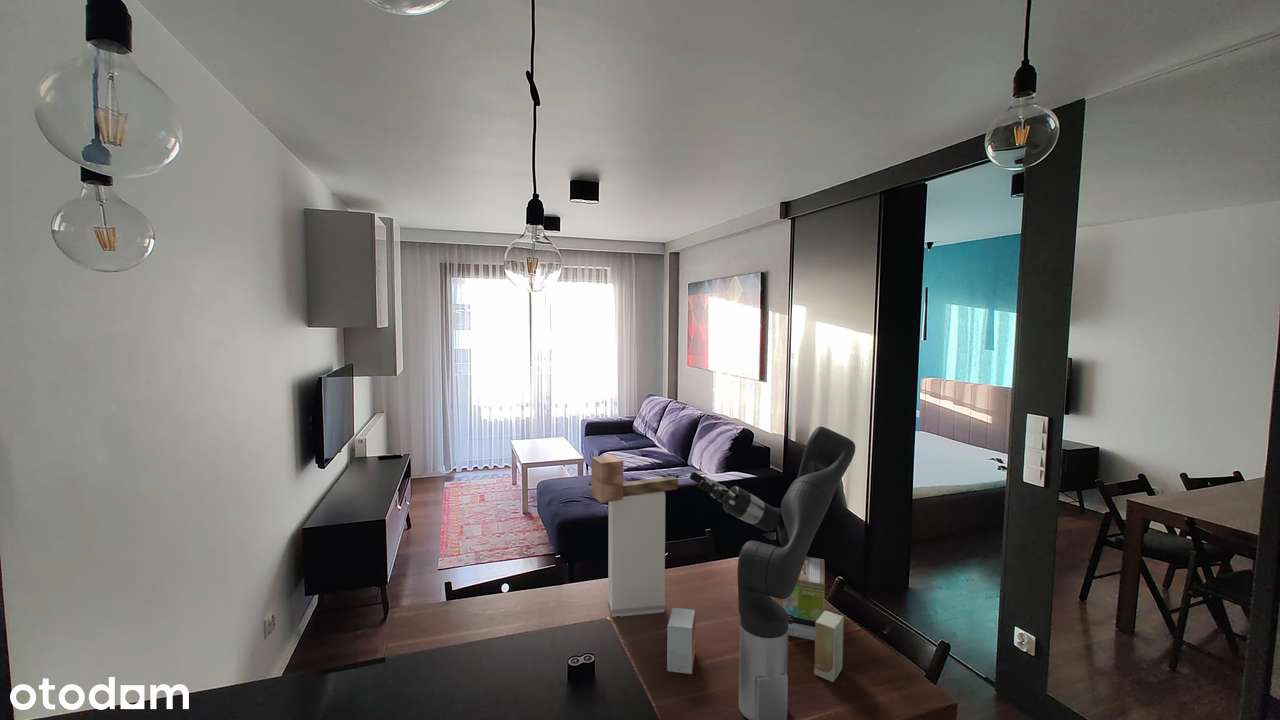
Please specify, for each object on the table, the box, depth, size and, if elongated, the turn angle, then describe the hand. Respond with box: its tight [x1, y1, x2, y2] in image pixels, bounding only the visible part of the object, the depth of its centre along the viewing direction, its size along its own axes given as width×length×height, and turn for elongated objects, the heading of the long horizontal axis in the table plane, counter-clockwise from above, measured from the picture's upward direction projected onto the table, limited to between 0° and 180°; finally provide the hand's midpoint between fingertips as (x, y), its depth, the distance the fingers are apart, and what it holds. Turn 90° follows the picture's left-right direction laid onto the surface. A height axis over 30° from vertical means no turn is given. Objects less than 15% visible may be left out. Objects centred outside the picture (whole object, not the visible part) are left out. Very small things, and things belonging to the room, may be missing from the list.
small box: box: [666, 607, 696, 675], centre depth 119 cm, size 8×6×10 cm
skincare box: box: [813, 609, 845, 683], centre depth 116 cm, size 6×4×12 cm
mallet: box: [590, 454, 679, 504], centre depth 138 cm, size 23×7×10 cm, turn 115°
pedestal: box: [607, 491, 666, 618], centre depth 141 cm, size 14×8×32 cm, turn 101°
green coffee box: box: [781, 556, 826, 641], centre depth 135 cm, size 15×10×15 cm, turn 161°
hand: (695, 479), depth 143 cm, fingers open, 8 cm apart
